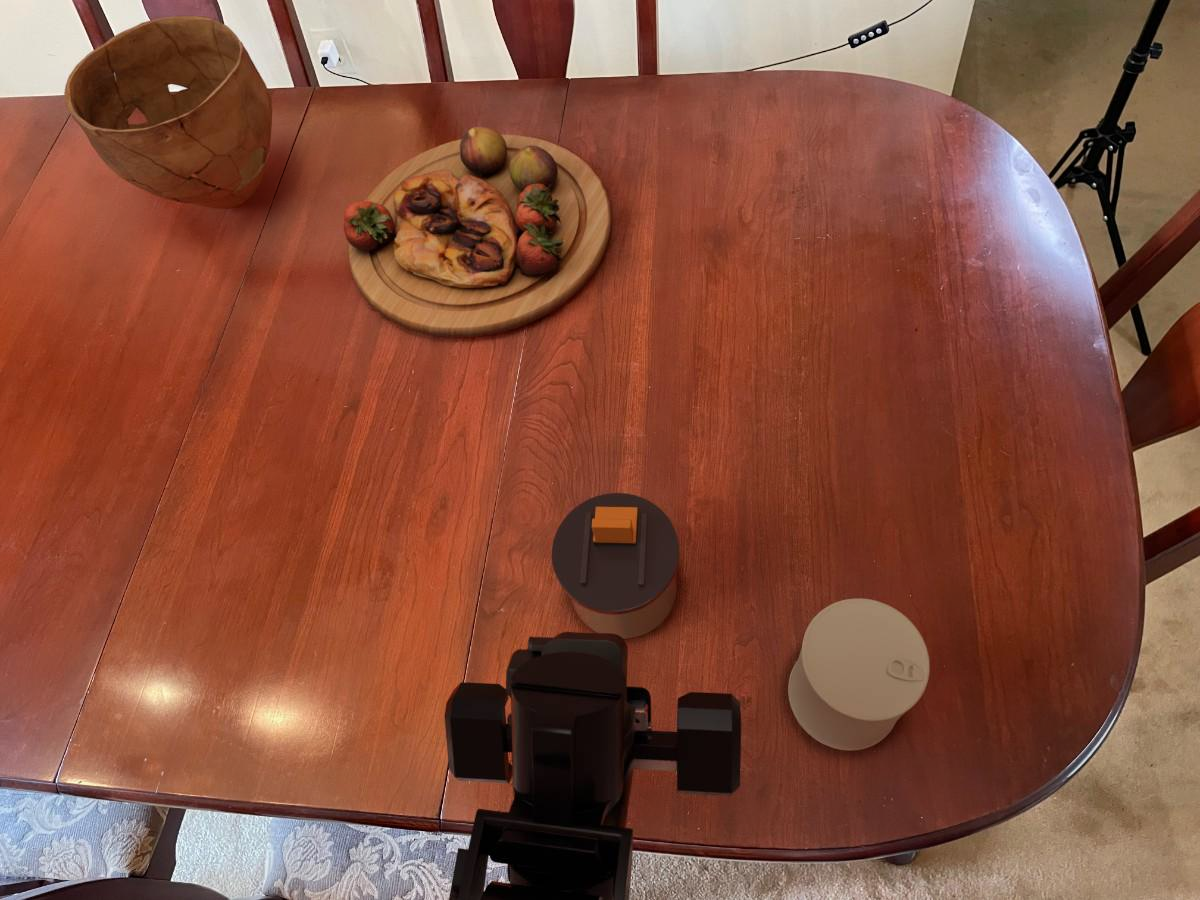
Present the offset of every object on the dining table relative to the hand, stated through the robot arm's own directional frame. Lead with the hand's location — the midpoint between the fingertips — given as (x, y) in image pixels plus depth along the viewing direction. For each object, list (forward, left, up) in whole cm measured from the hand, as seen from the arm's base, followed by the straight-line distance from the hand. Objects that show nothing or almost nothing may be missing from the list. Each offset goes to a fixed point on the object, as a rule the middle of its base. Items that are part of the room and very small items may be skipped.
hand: (607, 672), depth 62 cm
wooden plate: (+33, +49, -13) cm, 61 cm away
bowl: (+19, +81, -13) cm, 84 cm away
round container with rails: (+9, +7, -13) cm, 17 cm away
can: (+13, -14, -13) cm, 23 cm away
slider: (+11, +8, -4) cm, 14 cm away
